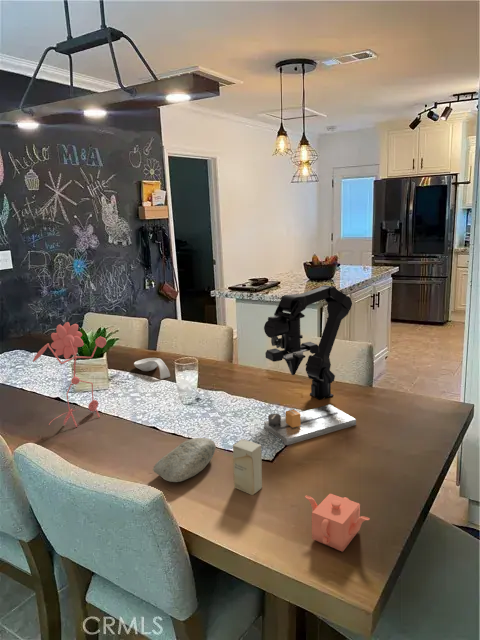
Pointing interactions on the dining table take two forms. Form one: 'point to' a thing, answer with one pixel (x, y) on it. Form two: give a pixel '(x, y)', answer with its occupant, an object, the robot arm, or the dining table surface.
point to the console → (312, 424)
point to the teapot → (335, 521)
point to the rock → (185, 460)
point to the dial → (274, 419)
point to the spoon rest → (153, 366)
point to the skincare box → (247, 466)
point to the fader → (293, 418)
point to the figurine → (67, 345)
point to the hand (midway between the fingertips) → (293, 374)
